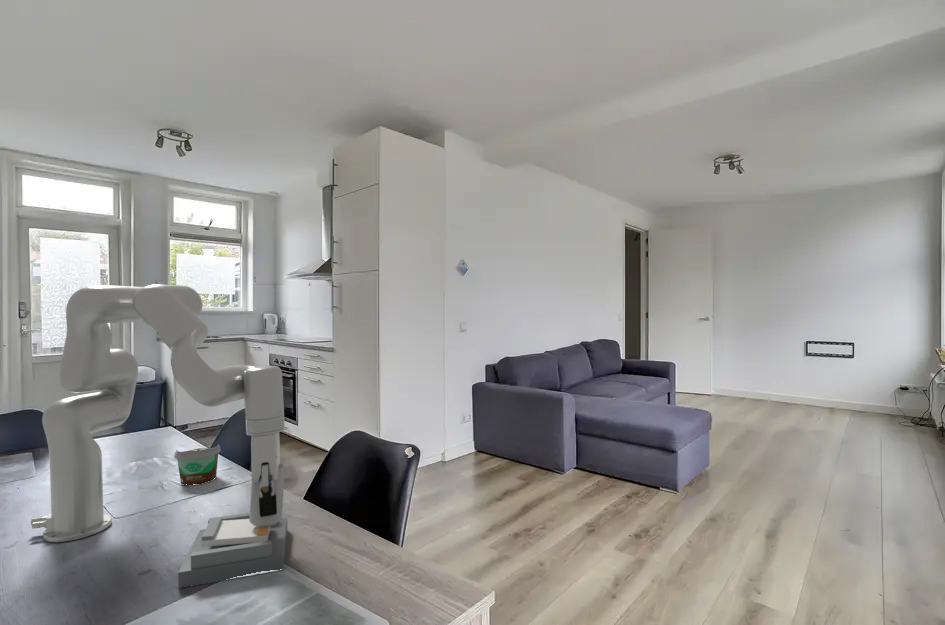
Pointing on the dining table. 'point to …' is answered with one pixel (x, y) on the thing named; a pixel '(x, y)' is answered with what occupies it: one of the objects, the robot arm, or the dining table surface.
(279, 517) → the beverage can
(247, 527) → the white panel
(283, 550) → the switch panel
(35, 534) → the dining table surface
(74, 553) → the dining table surface
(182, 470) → the food container
